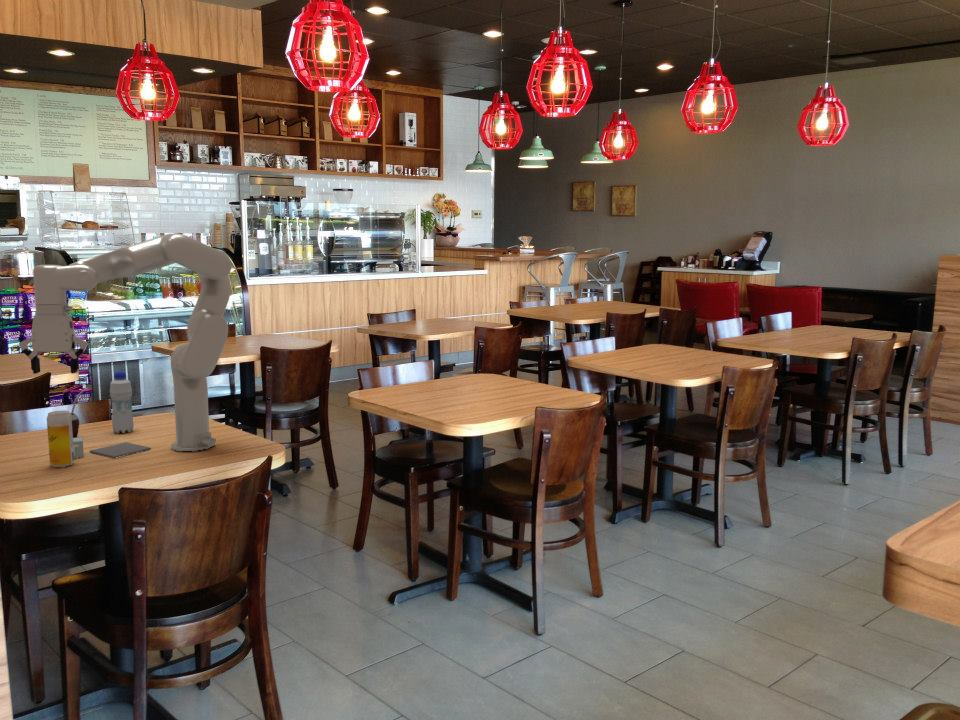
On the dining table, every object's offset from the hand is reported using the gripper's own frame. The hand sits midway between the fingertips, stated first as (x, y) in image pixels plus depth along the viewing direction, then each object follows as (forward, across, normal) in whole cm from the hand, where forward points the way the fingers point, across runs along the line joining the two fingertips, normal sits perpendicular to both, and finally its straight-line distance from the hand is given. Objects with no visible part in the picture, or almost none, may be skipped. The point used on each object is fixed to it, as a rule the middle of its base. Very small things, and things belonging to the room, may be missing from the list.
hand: (55, 372), depth 221 cm
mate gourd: (+26, +8, -31) cm, 41 cm away
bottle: (+26, -6, -38) cm, 47 cm away
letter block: (+26, 0, -9) cm, 28 cm away
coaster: (+26, -12, -14) cm, 32 cm away
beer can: (+26, 0, 0) cm, 26 cm away
